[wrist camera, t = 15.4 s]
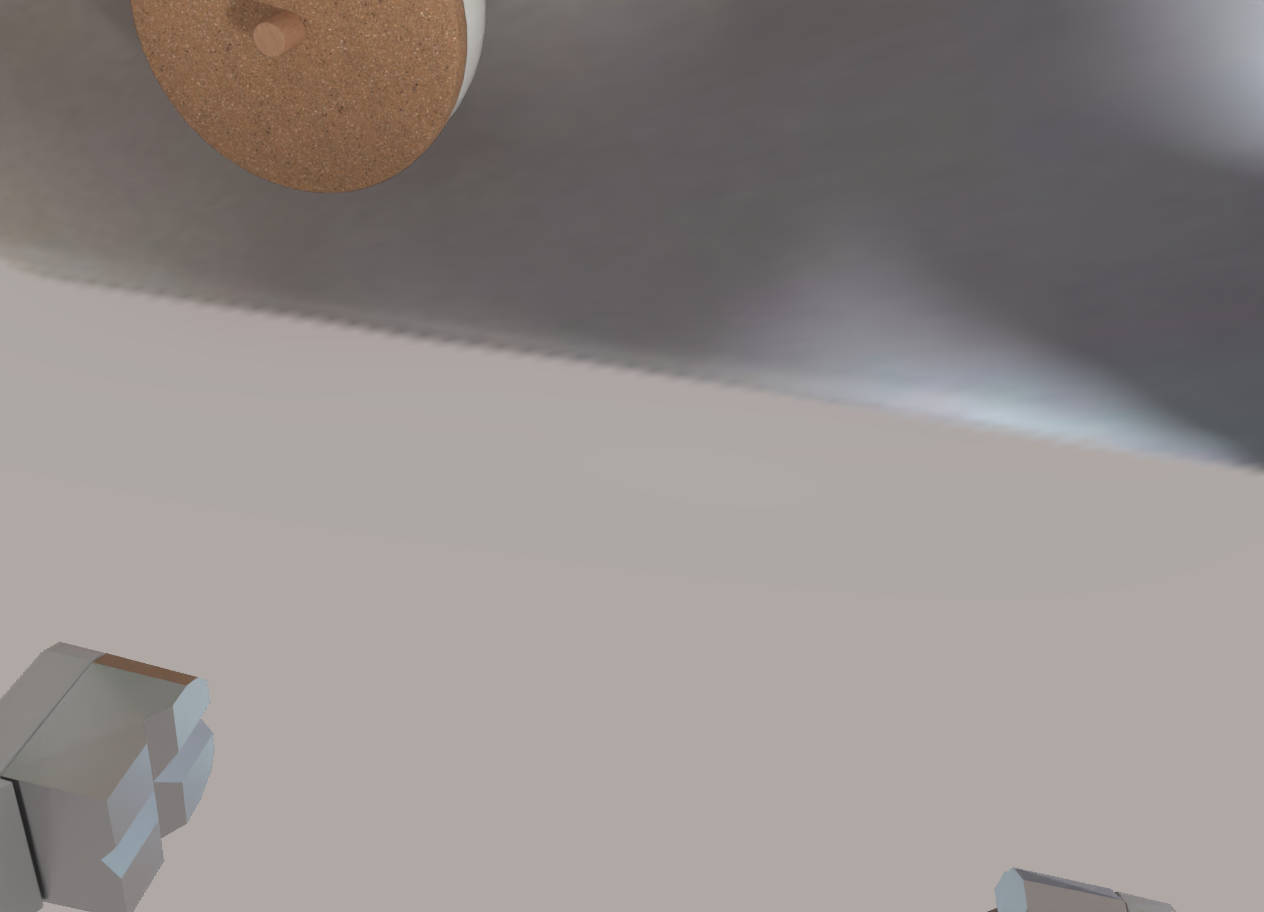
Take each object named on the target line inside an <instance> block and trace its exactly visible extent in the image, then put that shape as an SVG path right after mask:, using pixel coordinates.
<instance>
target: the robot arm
mask: <svg viewBox="0 0 1264 912" xmlns="http://www.w3.org/2000/svg"><path fill="white" fill-rule="evenodd" d="M209 704H210V698H209V691H208V684H207V680H204V679H201V678H198V677H194V676H191V675H187V674H183V673H179V672H175V671H171V670H168V669H164V668H160V667H156V666H152V665H149V664H145V663H141V662H138V661H133V660H130V659H126V658H122V657H119V656H115V655H111V654H107V653H103V652H99V651H95V650H90V649H86V648H82V647H78V646H74V645H70V644H66V643H62V642H58V643H57V644H55V645H53V646H51V647H50V648H48V649H46V650H44V651H43V652H41V653H40V655H39V656H38V657H37V658H36V659H35V660H34V662H33V663H32V664H31V665H30V666H29V667H28V668H27V669H26V671H25V672H24V673H23V674H22V675H21V676H20V678H19V679H18V680H17V681H16V682H15V683H14V684H13V685H12V687H11V688H10V689H9V690H8V691H7V692H6V693H5V694H4V696H3V697H2V698H1V699H0V912H37V911H38V910H40V909H41V908H42V907H43V901H44V902H49V903H53V904H58V905H62V906H67V907H71V908H76V909H81V910H85V911H90V912H133V911H134V910H135V908H136V906H137V905H138V903H139V901H140V900H141V898H142V897H143V895H144V893H145V892H146V890H147V888H148V887H149V885H150V884H151V882H152V880H153V879H154V877H155V875H156V874H157V872H158V870H159V869H160V867H161V865H162V864H163V862H164V858H163V850H162V842H161V838H162V837H164V836H166V835H168V834H169V833H171V832H173V831H175V830H176V829H178V828H180V827H181V826H183V825H185V824H187V822H188V820H189V819H190V817H191V815H192V813H193V812H194V810H195V808H196V806H197V805H198V803H199V801H200V800H201V797H202V794H203V792H204V789H205V786H206V784H207V781H208V778H209V775H210V773H211V769H212V762H213V755H214V740H213V733H212V731H211V730H210V729H209V728H208V727H207V725H206V724H205V723H204V722H203V721H202V719H201V717H202V715H203V713H204V711H205V710H206V709H207V707H208V706H209ZM995 893H996V902H997V908H996V909H993V910H991V911H988V912H1176V911H1175V910H1174V909H1173V907H1172V906H1171V905H1170V904H1167V903H1163V902H1159V901H1155V900H1150V899H1146V898H1142V897H1137V896H1134V895H1129V894H1125V893H1121V892H1113V890H1111V889H1109V888H1104V887H1100V886H1095V885H1090V884H1086V883H1081V882H1077V881H1072V880H1068V879H1063V878H1059V877H1054V876H1050V875H1045V874H1040V873H1036V872H1032V871H1027V870H1023V869H1018V868H1012V869H1010V870H1009V871H1007V872H1005V873H1004V874H1003V876H1002V877H1001V879H1000V881H999V883H998V884H997V886H996V887H995Z"/></svg>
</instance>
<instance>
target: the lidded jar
mask: <svg viewBox="0 0 1264 912" xmlns="http://www.w3.org/2000/svg"><path fill="white" fill-rule="evenodd" d="M130 1H131V7H132V13H133V19H134V23H135V26H136V30H137V33H138V36H139V39H140V42H141V46H142V49H143V51H144V53H145V56H146V58H147V60H148V62H149V65H150V67H151V69H152V71H153V74H154V76H155V77H156V79H157V81H158V82H159V84H160V85H161V87H162V89H163V90H164V92H165V93H166V95H167V97H168V98H169V100H170V101H171V103H172V104H173V105H174V107H175V108H176V109H177V110H178V112H179V113H180V114H181V116H182V117H183V118H184V120H185V121H186V122H187V123H188V124H189V125H190V126H191V127H192V128H193V129H194V130H195V131H196V132H197V133H198V134H199V135H200V136H201V137H202V138H203V139H204V140H205V141H206V142H207V143H208V144H209V145H211V146H212V147H213V148H214V149H216V150H217V151H218V152H220V153H221V154H222V155H223V156H225V157H226V158H227V159H229V160H230V161H232V162H234V163H235V164H237V165H238V166H240V167H242V168H243V169H245V170H247V171H248V172H250V173H252V174H254V175H257V176H259V177H261V178H263V179H266V180H268V181H270V182H272V183H275V184H279V185H282V186H286V187H289V188H293V189H296V190H303V191H310V192H318V193H337V192H349V191H354V190H359V189H364V188H368V187H371V186H373V185H376V184H378V183H381V182H383V181H386V180H388V179H390V178H391V177H393V176H395V175H396V174H398V173H399V172H401V171H403V170H404V169H406V168H407V167H409V166H410V165H411V164H412V163H413V162H414V161H415V160H416V159H417V158H418V157H419V156H420V155H422V154H423V153H424V152H425V151H426V150H427V149H428V148H429V147H430V146H431V144H432V143H433V142H434V140H435V139H436V138H437V136H438V135H439V134H440V132H441V131H442V130H443V128H444V127H445V125H446V123H447V122H448V120H449V119H450V118H451V116H452V115H453V114H454V112H455V111H456V110H457V108H458V107H459V105H460V103H461V101H462V99H463V98H464V96H465V94H466V92H467V90H468V88H469V86H470V84H471V82H472V80H473V78H474V75H475V72H476V69H477V65H478V62H479V59H480V56H481V51H482V45H483V38H484V31H485V24H486V2H485V0H130Z"/></svg>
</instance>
